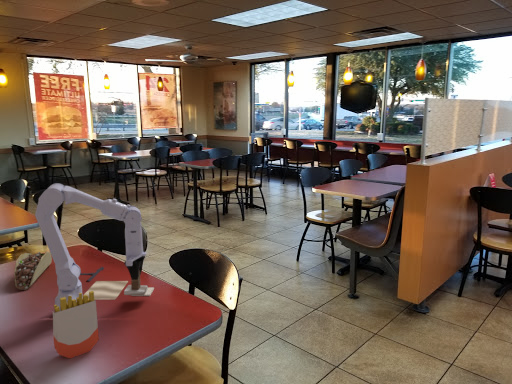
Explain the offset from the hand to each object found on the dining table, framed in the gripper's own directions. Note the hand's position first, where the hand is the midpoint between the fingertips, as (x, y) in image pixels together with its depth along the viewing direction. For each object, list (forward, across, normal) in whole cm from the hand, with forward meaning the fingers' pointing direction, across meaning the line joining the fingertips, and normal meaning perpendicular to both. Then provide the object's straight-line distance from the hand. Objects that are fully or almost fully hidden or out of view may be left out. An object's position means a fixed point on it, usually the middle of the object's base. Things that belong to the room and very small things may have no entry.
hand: (136, 277), depth 141 cm
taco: (+10, +22, +49) cm, 55 cm away
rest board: (+9, +9, +15) cm, 20 cm away
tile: (+9, +4, 0) cm, 10 cm away
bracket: (+10, +24, +31) cm, 40 cm away
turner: (+6, 0, 0) cm, 6 cm away
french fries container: (+10, -30, +9) cm, 33 cm away
